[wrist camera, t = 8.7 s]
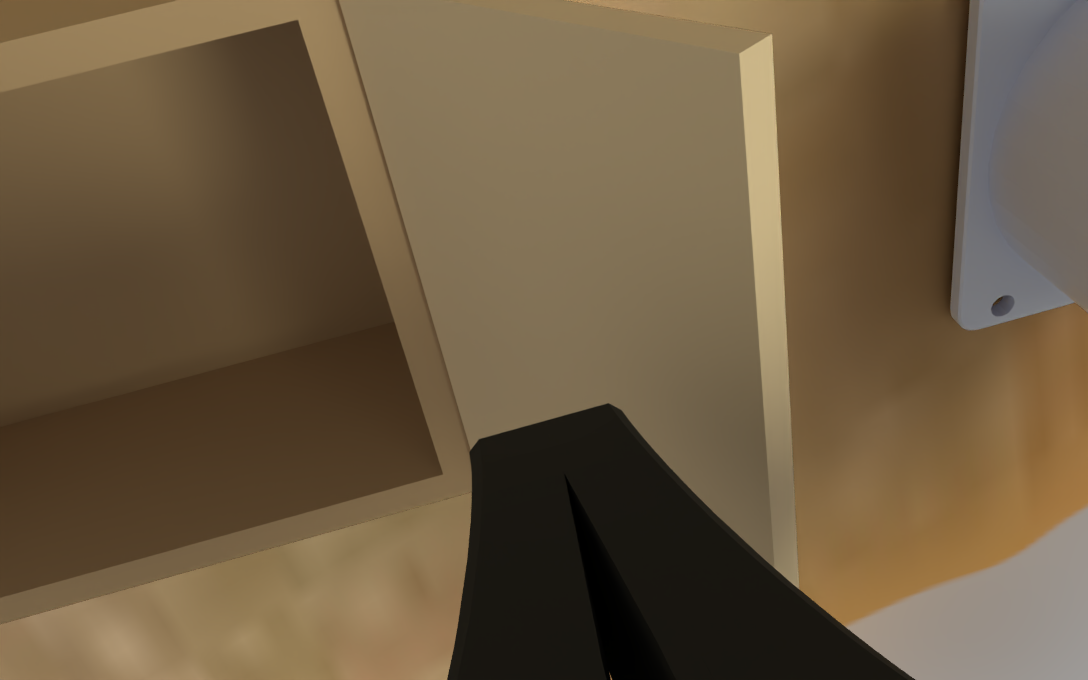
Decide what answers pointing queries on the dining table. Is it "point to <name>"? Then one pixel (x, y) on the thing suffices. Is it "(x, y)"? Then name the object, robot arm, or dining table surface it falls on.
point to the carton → (200, 297)
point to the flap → (598, 228)
